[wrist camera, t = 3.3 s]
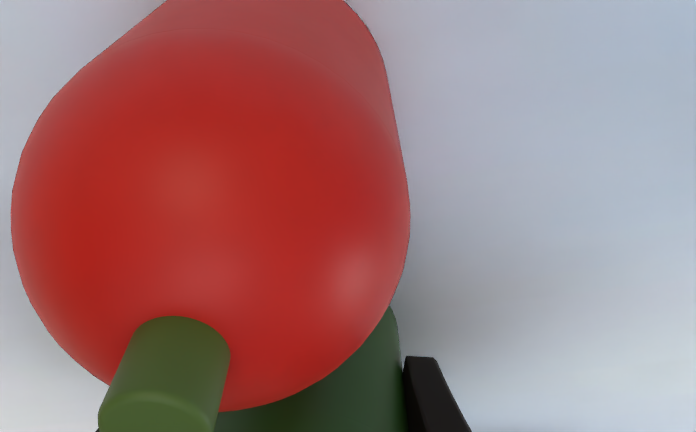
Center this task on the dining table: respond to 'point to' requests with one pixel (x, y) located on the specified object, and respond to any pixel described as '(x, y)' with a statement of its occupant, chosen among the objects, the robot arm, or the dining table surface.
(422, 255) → the dining table surface
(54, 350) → the dining table surface
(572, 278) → the dining table surface
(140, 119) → the red pepper
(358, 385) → the green pepper
